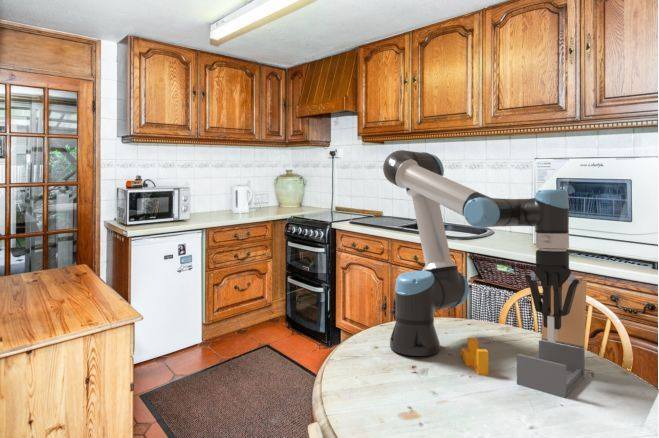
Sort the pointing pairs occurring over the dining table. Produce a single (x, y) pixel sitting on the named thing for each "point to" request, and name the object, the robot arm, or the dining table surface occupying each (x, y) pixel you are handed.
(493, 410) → the dining table surface
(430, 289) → the robot arm
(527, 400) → the dining table surface
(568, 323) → the tan rectangular panel
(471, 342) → the pipe clamp
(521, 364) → the housing
